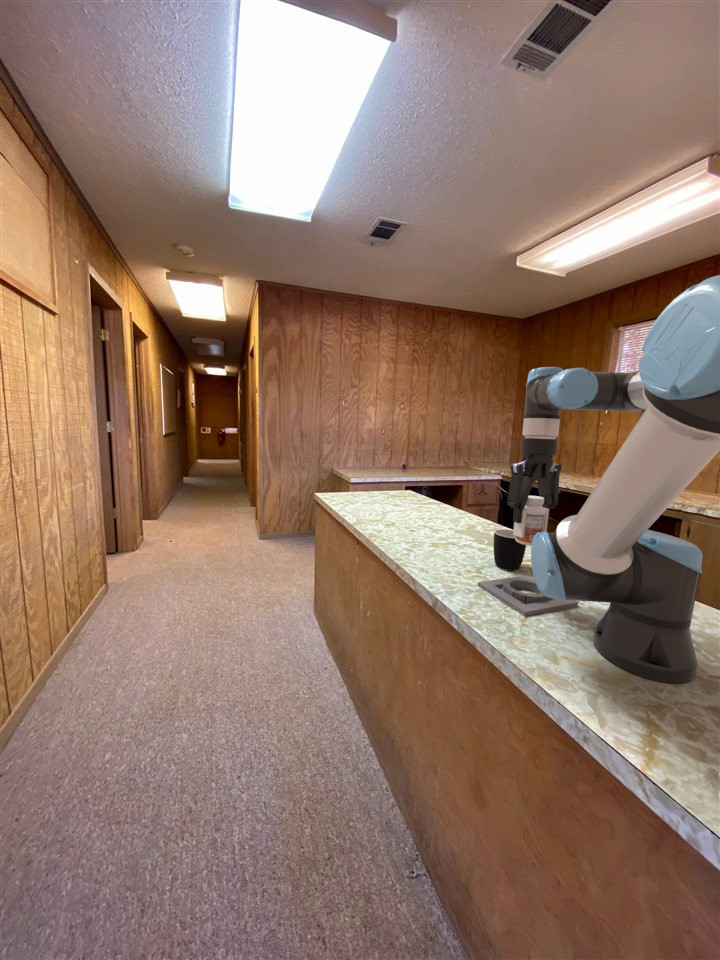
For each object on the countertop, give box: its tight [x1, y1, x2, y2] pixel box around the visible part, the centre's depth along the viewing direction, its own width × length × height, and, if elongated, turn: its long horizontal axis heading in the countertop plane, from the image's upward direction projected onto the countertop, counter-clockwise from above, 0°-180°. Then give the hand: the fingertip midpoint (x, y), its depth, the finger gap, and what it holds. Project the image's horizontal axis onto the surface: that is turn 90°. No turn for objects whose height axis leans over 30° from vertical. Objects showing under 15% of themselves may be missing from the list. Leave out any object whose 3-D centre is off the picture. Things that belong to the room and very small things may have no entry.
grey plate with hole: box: [477, 574, 579, 617], centre depth 93 cm, size 16×16×2 cm
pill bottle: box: [515, 495, 546, 547], centre depth 90 cm, size 6×6×11 cm
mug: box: [493, 528, 527, 571], centre depth 112 cm, size 12×9×10 cm
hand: (529, 534), depth 90 cm, fingers closed on pill bottle, 6 cm apart
